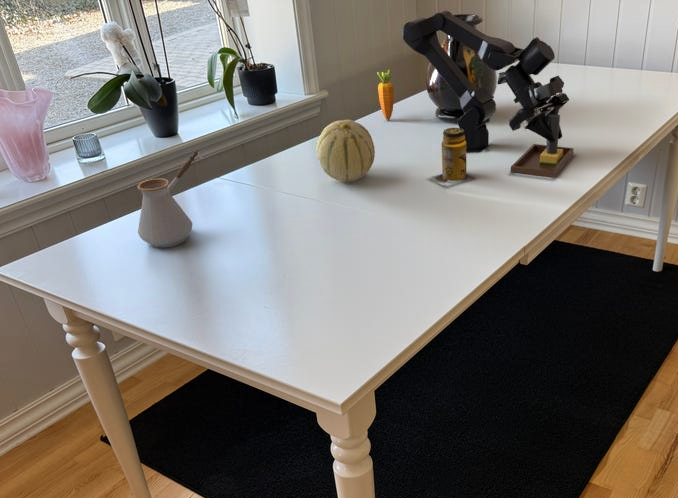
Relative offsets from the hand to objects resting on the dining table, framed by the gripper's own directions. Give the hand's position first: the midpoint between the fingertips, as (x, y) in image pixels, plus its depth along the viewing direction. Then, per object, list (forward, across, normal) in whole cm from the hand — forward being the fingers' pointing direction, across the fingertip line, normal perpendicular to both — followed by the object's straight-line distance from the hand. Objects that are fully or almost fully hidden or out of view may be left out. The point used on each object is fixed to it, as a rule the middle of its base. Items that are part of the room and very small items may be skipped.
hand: (557, 139), depth 174 cm
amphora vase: (-29, +18, +38) cm, 51 cm away
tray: (+3, -2, +6) cm, 7 cm away
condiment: (-6, -24, +15) cm, 29 cm away
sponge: (+3, 0, +5) cm, 6 cm away
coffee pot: (-25, -83, +35) cm, 94 cm away
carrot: (-40, +1, +50) cm, 64 cm away
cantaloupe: (-21, -39, +30) cm, 54 cm away
